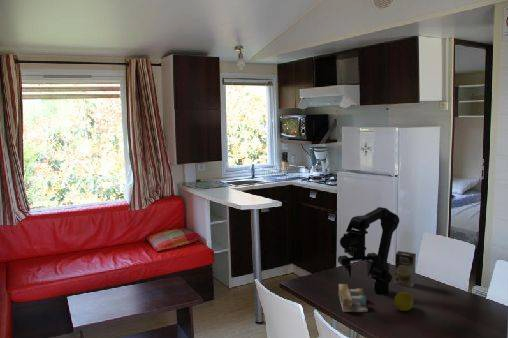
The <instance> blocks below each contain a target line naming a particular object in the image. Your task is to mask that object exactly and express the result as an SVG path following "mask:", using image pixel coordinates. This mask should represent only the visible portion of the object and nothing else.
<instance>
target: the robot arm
mask: <svg viewBox="0 0 508 338" xmlns="http://www.w3.org/2000/svg"><path fill="white" fill-rule="evenodd" d="M378 220H380V226H381V227H380V228H381V229H382V230H381V231H382V233H381V236H380V243H379V244H378V245H379V246H378V252H377V253H375V252H369V253H367V254H366V251H367V247H366V234H369V232H368V231H367V230H368V229H369V228H370V225H371V224H373V223H375V222H376V221H378ZM399 223H400V217H399V216H398V214H396V213H394V212H392V211H391V210H389V209H388V208H387V207H381V206H379V207H376V208H375V209H374V210H372V211H370V212H368V213H365V214H364V215H356V216H353V217H351V219H350V221H349V223H348V225H347V228H346V230H345V233H343V236H341V238H340V240H339V244H340V247H341V248H342V249H343V253H344V254H345V255H338V257H337V262H338V263H339V264H340V265H341V266H343V267H344V268H345V270H346V274H347V275H348V276H347V277H348V278H349V279H351V277H352V265H351V263H352V262H361V261H366V275H367V277H369V276H371V279H372V280H374V281H373V283H372V284H373V288H372V289H373V291H374V293H375V294H376V295H390V292H389V291H390V289H389V287H390V286H389V283H391V282H392V281H393V276H392V274H391V273H390V266H389V264H388V263H389V262H388V259H389V254H390V248H391V244H392V239H393V238H392V237H393V233H394V232H395V231H396V230H397V229H398V227H399ZM346 254H348V256H347V255H346ZM349 256H350V257H349Z"/></svg>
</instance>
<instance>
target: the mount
mask: <svg viewBox="0 0 508 338" xmlns="http://www.w3.org/2000/svg"><path fill="white" fill-rule="evenodd" d="M349 289H350V288H349V286H348V283H338V298H339V302H340V305H341V309H342V312H344V313H345V312H347V313H349V312H351V313H354V312H355V313H364V312H365V313H367V312H369V309H368V307H367V304H366V305H360V304H354V303H352V298H351V295H350V292H349Z"/></svg>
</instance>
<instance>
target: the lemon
mask: <svg viewBox="0 0 508 338" xmlns="http://www.w3.org/2000/svg"><path fill="white" fill-rule="evenodd" d="M393 300H394V302H393V303H394V306H395V307H396V309H398V310H399V311H400V312H406V311H407V312H408V311H409V310H411V309H412V308H413V307H412V306H414V298H413V296H412V294H410V293H409V292H406V291H402V292H399V293H397V294H396V295H395V296H394V299H393Z"/></svg>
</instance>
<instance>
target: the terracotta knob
mask: <svg viewBox="0 0 508 338" xmlns="http://www.w3.org/2000/svg"><path fill="white" fill-rule="evenodd" d="M348 289H349V292H350V295H351V296H359V295H364V289H363V287H357V288H354V289H353V288H348Z"/></svg>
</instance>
